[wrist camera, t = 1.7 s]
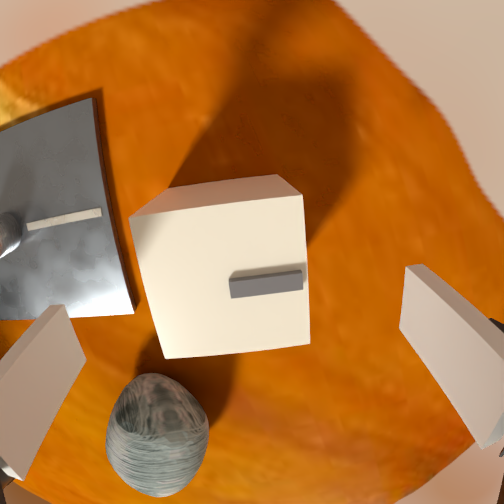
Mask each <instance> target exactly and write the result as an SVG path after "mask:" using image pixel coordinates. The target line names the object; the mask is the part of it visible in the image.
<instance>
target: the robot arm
mask: <svg viewBox="0 0 504 504" xmlns="http://www.w3.org/2000/svg"><path fill="white" fill-rule="evenodd" d="M399 329H400V331H401V332H402V333H403V335H404V336H405V337H406V339H407V340H408V341H409V343H410V344H411V346H412V347H413V348H414V350H415V351H416V352H417V354H418V355H419V357H420V358H421V359H422V361H423V362H424V364H425V365H426V366H427V368H428V369H429V371H430V372H431V374H432V375H433V377H434V378H435V379H436V381H437V382H438V384H439V385H440V387H441V388H442V390H443V391H444V393H445V394H446V396H447V397H448V399H449V400H450V402H451V403H452V405H453V406H454V408H455V409H456V411H457V412H458V414H459V415H460V417H461V418H462V420H463V421H464V423H465V425H466V426H467V428H468V429H469V431H470V432H471V434H472V436H473V437H474V439H475V440H476V442H477V444H478V445H479V447H480V449H483V448H485V447H487V446H489V445H491V444H493V443H495V442H497V441H499V440H500V439H501V438H502V436H503V434H504V324H502V323H500V322H498V321H496V320H494V319H492V318H490V319H488V318H487V317H485V316H484V315H483V314H482V313H481V312H480V311H479V310H478V309H476V308H475V307H474V306H473V305H472V304H471V303H470V302H468V301H467V300H466V299H465V298H464V297H463V296H461V295H460V294H459V293H458V292H457V291H455V290H454V289H453V288H452V287H451V286H449V285H448V284H447V283H446V282H445V281H443V280H442V279H441V278H440V277H439V276H437V275H436V274H435V273H434V272H432V271H431V270H430V269H429V268H427V267H426V266H425V265H424V264H418V265H411V266H406V269H405V281H404V292H403V301H402V310H401V318H400V326H399ZM85 362H86V357H85V355H84V353H83V351H82V348H81V346H80V344H79V341H78V339H77V336H76V334H75V331H74V329H73V326H72V324H71V321H70V319H69V316H68V313H67V311H66V308H65V305H64V304H58V305H50V306H49V307H48V308H47V309H46V310H45V311H44V312H43V313H42V314H41V315H40V316H39V317H38V318H37V319H36V320H35V321H34V323H33V324H32V325H31V326H30V327H29V328H28V329H27V330H26V331H25V332H24V334H23V335H22V336H21V337H20V338H19V339H18V340H17V341H16V343H15V344H14V345H13V346H12V347H11V348H10V349H9V351H8V352H7V353H6V354H5V355H4V356H3V358H2V359H1V360H0V504H6V501H5V497H4V493H3V490H4V488H5V487H6V486H7V485H9V483H11V482H12V481H13V480H14V479H15V478H16V479H19V480H22V481H24V479H25V477H26V475H27V473H28V470H29V468H30V466H31V464H32V462H33V460H34V458H35V456H36V453H37V451H38V449H39V447H40V445H41V443H42V441H43V439H44V437H45V435H46V433H47V431H48V429H49V427H50V425H51V424H52V422H53V420H54V418H55V416H56V414H57V412H58V410H59V408H60V407H61V405H62V403H63V401H64V399H65V397H66V395H67V394H68V392H69V390H70V388H71V386H72V385H73V383H74V381H75V379H76V378H77V376H78V374H79V372H80V371H81V369H82V367H83V365H84V364H85ZM503 455H504V448H503V449H502V451H501V453H500V455H499V457H502V456H503ZM497 504H504V476H503V480H502V485H501V489H500V493H499V497H498V501H497Z"/></svg>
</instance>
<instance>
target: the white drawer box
mask: <svg viewBox="0 0 504 504" xmlns="http://www.w3.org/2000/svg"><path fill="white" fill-rule="evenodd" d="M129 222H130V227H131V232H132V237H133V241H134V246H135V250H136V255H137V259H138V263H139V267H140V272H141V276H142V280H143V284H144V287H145V291H146V295H147V299H148V303H149V306H150V310H151V313H152V317H153V321H154V324H155V327H156V331H157V334H158V338H159V341H160V344H161V347H162V351H163V354H164V357H165V359H172V358H187V357H200V356H212V355H223V354H233V353H243V352H252V351H260V350H268V349H276V348H283V347H290V346H297V345H304V344H310V320H309V292H308V270H307V251H306V235H305V219H304V205H303V195H302V194H301V193H300V192H299V191H297V190H296V189H295V188H294V187H292V186H291V185H290V184H289V183H288V182H286V181H285V180H284V179H283V178H281V177H280V176H279V175H278V174H273V175H264V176H255V177H246V178H238V179H230V180H222V181H214V182H207V183H200V184H193V185H186V186H179V187H173V188H167V189H166V190H165V191H163V192H162V193H161V194H159V195H158V196H156V197H155V198H154V199H152V200H151V201H150V202H148V203H147V204H146V205H145V206H143V207H142V208H141V209H139V210H138V211H137V212H135V213H134V214H133V215H131V216H130V217H129Z"/></svg>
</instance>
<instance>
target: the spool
mask: <svg viewBox="0 0 504 504" xmlns="http://www.w3.org/2000/svg"><path fill="white" fill-rule="evenodd" d="M208 438H209V424H208V419H207V416H206V413H205V412H204V410H203V408H202V406H201V405H200V403H199V402H198V401H197V400H196V398H195V397H194V396H193V395H192V394H191V393H190V392H189V391H188V390H186V389H185V388H184V387H183V386H182V385H181V384H180V383H178V382H177V381H175V380H173V379H171V378H169V377H167V376H165V375H162V374H158V373H147V374H142V375H139V376H137V377H136V378H134V379H133V380H132V381H131V382H130V383H129V384H128V385H127V386H126V387H125V388H124V389H123V391H122V393H121V394H120V396H119V398H118V400H117V401H116V403H115V405H114V408H113V410H112V413H111V415H110V419H109V423H108V427H107V433H106V453H107V456H108V459H109V461H110V463H111V465H112V466H113V468H114V470H115V471H116V472H117V474H118V475H119V476H120V477H121V478H122V479H123V480H124V481H125V482H126V483H127V484H128V485H130V486H131V487H133V488H134V489H136V490H137V491H140V492H142V493H144V494H147V495H150V496H154V497H165V496H169V495H172V494H174V493H176V492H178V491H180V490H181V489H183V488H184V487H185V486H186V485H187V484H188V483H189V482H190V481H191V480H192V479H193V477H194V476H195V474H196V472H197V471H198V469H199V467H200V465H201V463H202V461H203V458H204V455H205V452H206V448H207V444H208Z"/></svg>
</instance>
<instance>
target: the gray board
mask: <svg viewBox="0 0 504 504" xmlns="http://www.w3.org/2000/svg"><path fill="white" fill-rule="evenodd" d="M58 304H64V305H65V308H66V311H67V313H68V316H69V318H71V317H89V316H104V315H119V314H132V313H134V312H135V310H136V309H137V308H136V304H135V301H134V297H133V294H132V290H131V287H130V283H129V279H128V275H127V271H126V267H125V263H124V259H123V255H122V251H121V247H120V243H119V238H118V234H117V229H116V225H115V220H114V215H113V210H112V205H111V200H110V194H109V189H108V183H107V177H106V171H105V165H104V158H103V152H102V144H101V137H100V129H99V120H98V111H97V101H96V98H89V99H85V100H82V101H79V102H76V103H73V104H70V105H67V106H64V107H61V108H58V109H55V110H53V111H50V112H47V113H45V114H42V115H39V116H37V117H34V118H32V119H29V120H27V121H24V122H22V123H20V124H17V125H15V126H13V127H10V128H8V129H6V130H4V131H1V132H0V320H25V319H37V318H38V317H39V316H40V315H41V314H42V313H43V312H44V311H45V310H46V309H47V308H48V307H49V306H50V305H58Z"/></svg>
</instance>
